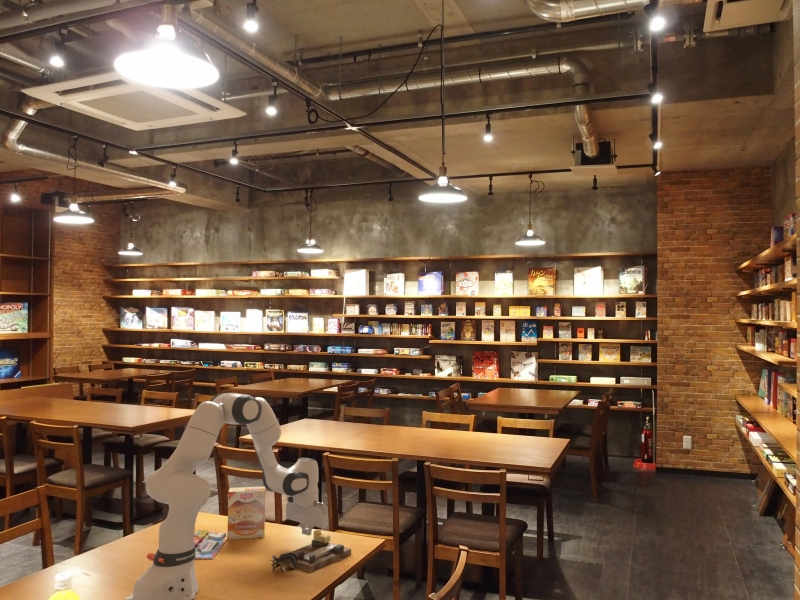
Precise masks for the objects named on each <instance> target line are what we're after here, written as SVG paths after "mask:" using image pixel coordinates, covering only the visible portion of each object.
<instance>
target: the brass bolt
mask: <svg viewBox="0 0 800 600" xmlns="http://www.w3.org/2000/svg"><path fill="white" fill-rule="evenodd" d="M313 540H315V541H319V542H322V543H327V542H329V543H330V542H331V535H328V534H326V533H325V534H324V533H322V529H321V528H319V529H316V530H313Z"/></svg>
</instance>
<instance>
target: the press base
mask: <svg viewBox="0 0 800 600" xmlns="http://www.w3.org/2000/svg"><path fill="white" fill-rule="evenodd" d="M330 543H331V544H333V543H332V542H330V541H329V542H327V543H322V542H319V541H315V540H314V539H312V540H311V543H310V544H307V545H305V546H303V547H300V548H297V549H295V550H292V551H290V552H288V553H293V554H296V556H297V557H298V559H299V560H298V561H297V563H291V564H293V565H294V566H295V567H298V569H300V568H301V570H303V571H306V572H309V573H311V572H314V571H316V570H318V569H320V568H322V567H325V566H327V565H330V564H332V563H335V562H337V561H339V560H341V559H344V558H346V557H348V556H350V555H352V548H350V547H346V546H345V545H344V544H340V543H339V544H335V543H334V544H335V545H336V546H334V551H333V552H330V553H328V554H326V555H324V556H322V557H319V558H317V559H315V555H311V556H309V561H306V560H303V559H302V556H303V555H306V554H308V553H310V552H312V551H315V550H317V549H319V548H321V547H324V546H326V545H328V544H330Z"/></svg>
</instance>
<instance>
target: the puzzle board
mask: <svg viewBox="0 0 800 600" xmlns="http://www.w3.org/2000/svg"><path fill="white" fill-rule="evenodd" d="M213 532H215V533H213ZM218 532H219V531H209V530H208V529H206V530H205V529H204V530H201V529H200V530H199V529H198V530H195V534H194V545H195V559H206V560H214V559H215V558H216V556H217V555H218V553H219V552H220V550H221V549H222V548H223V546H224V545H223V543H224V542H223V541H224V540H225V539H224V538H225V537H226V533H218ZM223 539H224V540H223ZM224 544H225V543H224ZM222 545H223V546H222ZM220 548H221V549H220ZM218 551H219V552H218ZM154 554H155V555H156V552H154ZM216 554H217V555H216ZM214 557H215V558H214Z"/></svg>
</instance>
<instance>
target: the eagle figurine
mask: <svg viewBox="0 0 800 600" xmlns="http://www.w3.org/2000/svg"><path fill="white" fill-rule="evenodd" d="M271 558H272V559H270V561H271V562H272V564H270V565H271V566H272V572H275V571H276V569H278V568H279V567H280V568H281V570H282V572H283V573H284V574H285V573H286V567H289V568H292V569H293V570H298V569H297V567H295V566H294V565H293V564H291V563H297V561H298V560H299V559H298V557H297V556H296V554H293V553H289V552H285V553H281V554H280V555H279V556H278V557H277V556H276V555H272V557H271Z"/></svg>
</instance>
